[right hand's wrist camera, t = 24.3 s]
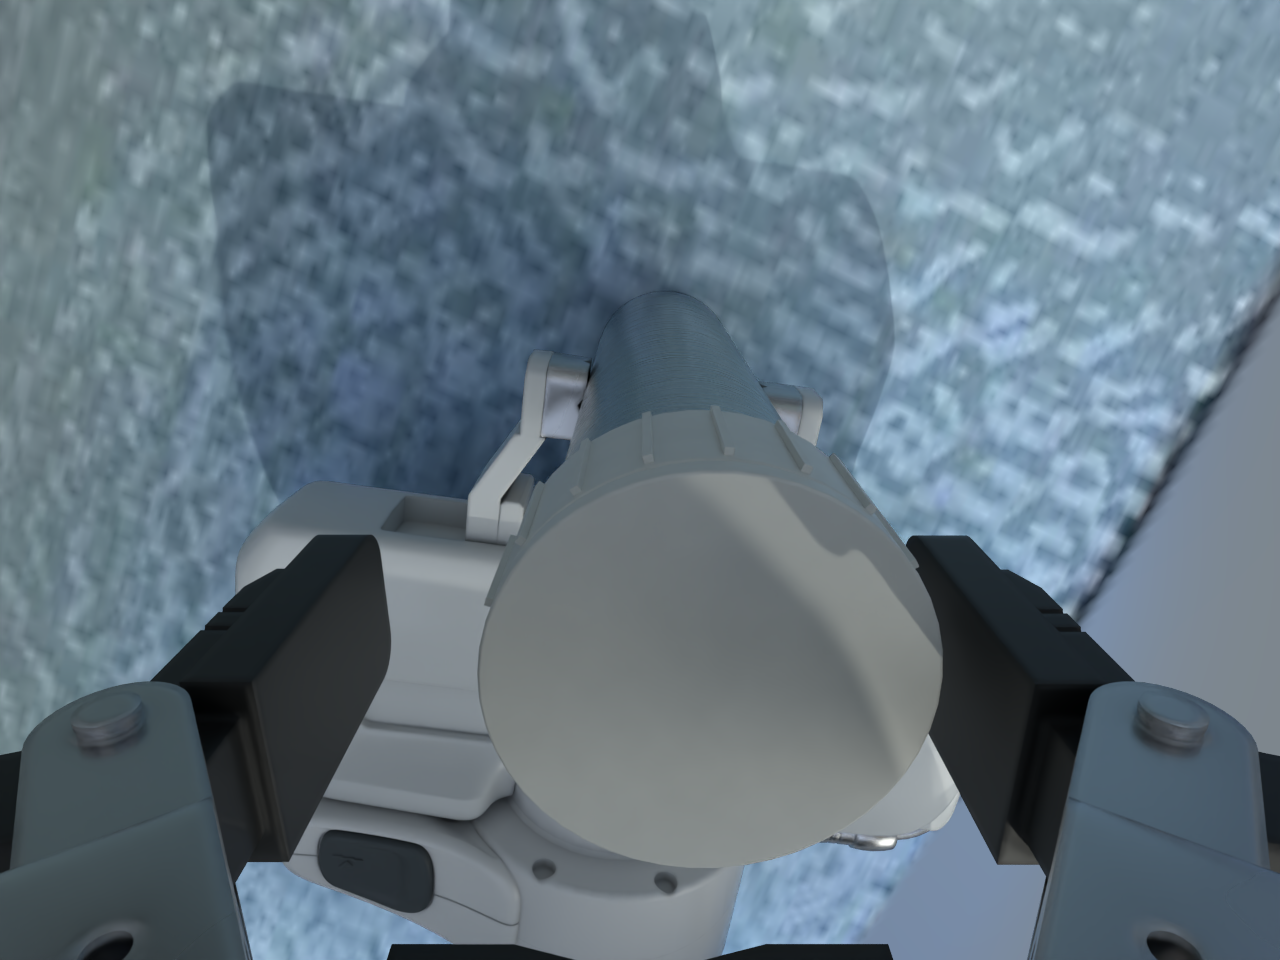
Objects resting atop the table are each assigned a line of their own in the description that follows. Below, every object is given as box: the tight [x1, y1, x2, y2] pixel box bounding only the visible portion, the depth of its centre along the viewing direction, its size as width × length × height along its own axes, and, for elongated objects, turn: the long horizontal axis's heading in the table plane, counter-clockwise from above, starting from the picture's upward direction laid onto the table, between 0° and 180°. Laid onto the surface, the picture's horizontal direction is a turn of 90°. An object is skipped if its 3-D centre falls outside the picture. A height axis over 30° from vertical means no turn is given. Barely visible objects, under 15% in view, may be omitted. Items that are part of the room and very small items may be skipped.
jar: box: [565, 291, 783, 461], centre depth 17 cm, size 4×4×17 cm
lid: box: [477, 405, 943, 868], centre depth 9 cm, size 5×5×2 cm
